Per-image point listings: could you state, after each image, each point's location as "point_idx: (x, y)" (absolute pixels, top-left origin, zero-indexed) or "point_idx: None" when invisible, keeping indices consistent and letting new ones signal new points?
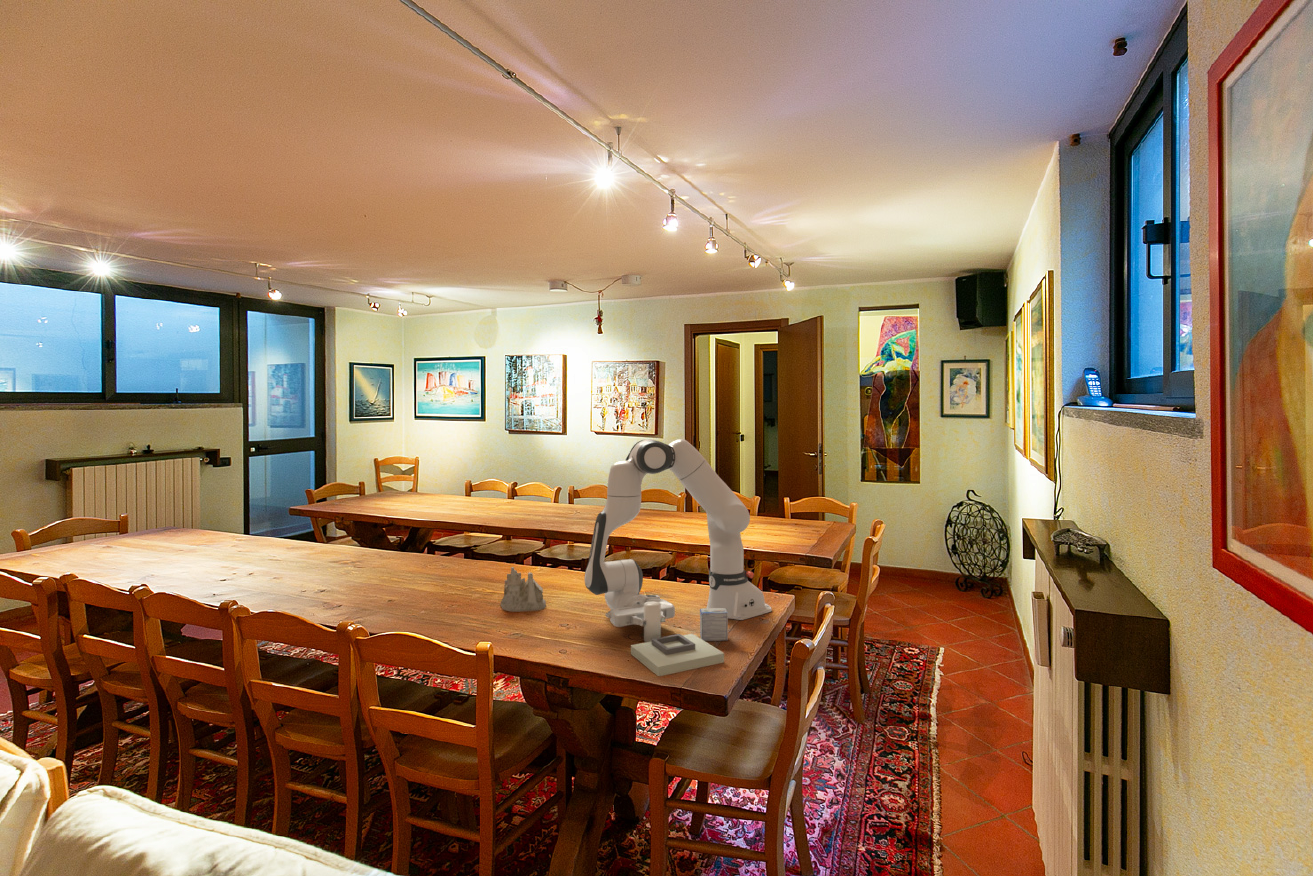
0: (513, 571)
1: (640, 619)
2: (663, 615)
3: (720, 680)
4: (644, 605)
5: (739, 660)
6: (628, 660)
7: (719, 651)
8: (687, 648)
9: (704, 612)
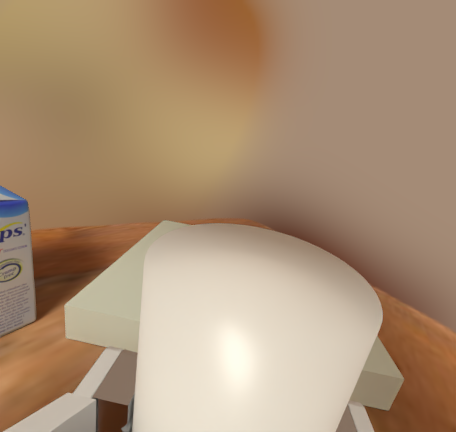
0: None
1: (371, 428)
2: (94, 367)
3: None
4: (370, 291)
5: (131, 229)
6: (396, 365)
7: (162, 224)
8: None
9: (8, 194)
